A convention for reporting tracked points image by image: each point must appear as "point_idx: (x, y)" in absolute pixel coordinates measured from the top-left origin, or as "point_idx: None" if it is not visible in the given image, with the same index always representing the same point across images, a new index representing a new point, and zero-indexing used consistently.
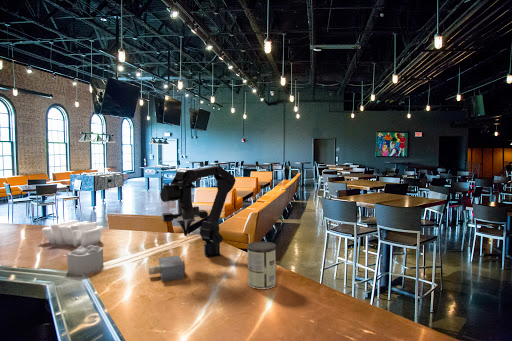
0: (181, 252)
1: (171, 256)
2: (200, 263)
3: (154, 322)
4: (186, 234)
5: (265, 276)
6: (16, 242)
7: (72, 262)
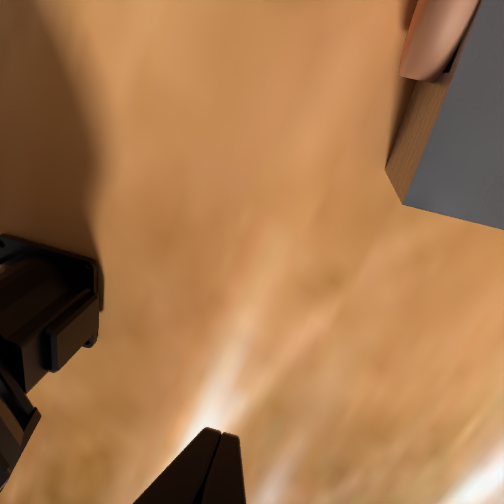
0: None
1: (500, 222)
2: (185, 166)
3: None
4: (203, 443)
5: None
6: None
7: None
